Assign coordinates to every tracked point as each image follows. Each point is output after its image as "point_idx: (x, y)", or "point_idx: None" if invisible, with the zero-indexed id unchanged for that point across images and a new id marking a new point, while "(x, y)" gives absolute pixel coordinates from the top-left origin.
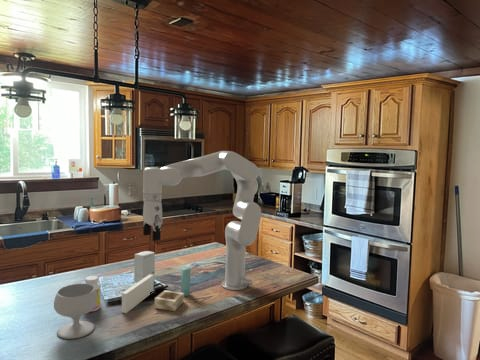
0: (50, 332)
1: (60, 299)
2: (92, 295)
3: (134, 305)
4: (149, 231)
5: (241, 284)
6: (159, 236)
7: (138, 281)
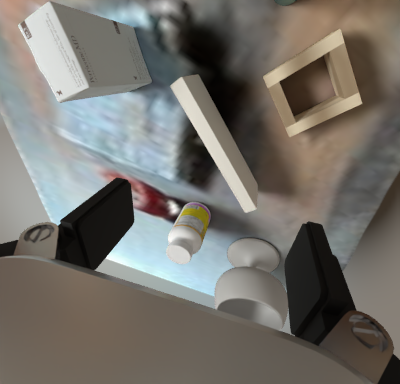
0: None
1: None
2: (281, 307)
3: (243, 159)
4: (115, 203)
5: None
6: (323, 250)
7: (134, 88)
